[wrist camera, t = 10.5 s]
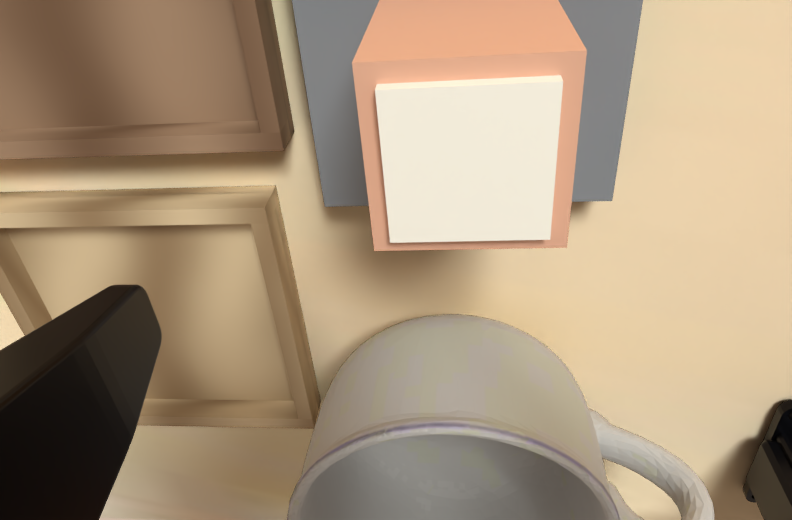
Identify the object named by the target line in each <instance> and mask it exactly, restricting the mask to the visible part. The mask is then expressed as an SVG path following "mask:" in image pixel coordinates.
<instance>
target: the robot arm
mask: <svg viewBox="0 0 792 520" xmlns="http://www.w3.org/2000/svg"><path fill="white" fill-rule="evenodd" d="M161 340H162V333H161V328H160V325H159V322H158V320H157V317H156V314H155V312H154V309H153V307H152V304H151V302H150V299H149V297H148V294H147V292H146V290H145V289H144V288H143V287H142V286H140V285H136V284H131V285H111V286H109V287H107V288H105V289H104V290H102V291H100V292H99V293H97V294H95V295H93V296H92V297H90V298H88V299H87V300H85V301H83V302H82V303H80V304H78V305H76V306H75V307H73V308H71V309H70V310H68V311H66V312H65V313H63V314H61V315H59V316H58V317H56V318H54V319H53V320H51V321H49V322H48V323H46V324H44V325H42V326H41V327H39V328H37V329H36V330H34V331H32V332H31V333H29V334H27V335H25V336H24V337H22V338H20V339H19V340H17V341H15V342H13V343H12V344H10V345H8V346H7V347H5V348H3V349H2V350H0V520H99V518H100V516H101V513H102V511H103V509H104V506H105V504H106V501H107V499H108V497H109V494H110V492H111V490H112V487H113V485H114V482H115V480H116V478H117V475H118V473H119V471H120V468H121V466H122V463H123V461H124V459H125V456H126V454H127V451H128V449H129V446H130V444H131V441H132V439H133V436H134V433H135V430H136V427H137V424H138V420H139V417H140V414H141V410H142V407H143V403H144V400H145V397H146V393H147V390H148V387H149V383H150V380H151V376H152V373H153V370H154V366H155V363H156V360H157V356H158V353H159V350H160V346H161ZM743 492H744V495H745V497H746V499H747V500H748V501H750V502H756V503H757V505H758V507H759V509H760V512H761V514H762V516H763V519H764V520H792V400H788V401H786V402H783V403H782V404H780V405H779V406H778V408H777V410H776V412H775V415H774V417H773V419H772V422H771V424H770V426H769V429H768V431H767V433H766V435H765V438H764V440H763V442H762V444H761V445H760V447H759V449H758V451H757V454H756V456H755V459H754V461H753V463H752V466H751V468H750V470H749V473H748V475H747V477H746V482H745V484H744V487H743Z"/></svg>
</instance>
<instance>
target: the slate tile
mask: <svg viewBox="0 0 792 520" xmlns="http://www.w3.org/2000/svg"><path fill="white" fill-rule="evenodd" d="M558 1H559V3H560V4H561V6H562V8H563V10H564V11H565V13H566V15H567V16H568V18H569V20H570V22H571V23H572V25H573V27H574V29H575V30H576V32H577V34H578V36H579V37H580V39H581V41H582V43H583V44H584V46H585V48H586V50H587V56H586V65H585V75H584V85H583V95H582V105H581V114H580V124H579V134H578V144H577V154H576V164H575V173H574V183H573V193H572V202H581V201H612V198H613V192H614V185H615V179H616V172H617V166H618V159H619V153H620V146H621V140H622V133H623V127H624V120H625V114H626V107H627V101H628V94H629V88H630V81H631V75H632V68H633V62H634V55H635V49H636V42H637V36H638V29H639V23H640V16H641V10H642V3H643V0H558ZM378 2H379V0H292V4H293V10H294V17H295V23H296V29H297V35H298V42H299V48H300V54H301V60H302V67H303V73H304V79H305V86H306V92H307V98H308V104H309V111H310V117H311V123H312V130H313V136H314V142H315V148H316V155H317V161H318V167H319V174H320V180H321V186H322V192H323V199H324V205H325V207H333V206H369V202H368V194H367V186H366V177H365V169H364V160H363V152H362V143H361V135H360V127H359V118H358V110H357V101H356V93H355V84H354V76H353V68H352V61H353V59H354V57H355V55H356V52H357V50H358V48H359V46H360V43H361V41H362V39H363V36H364V34H365V32H366V30H367V27H368V25H369V23H370V20H371V18H372V16H373V14H374V11H375V9H376V7H377V4H378Z"/></svg>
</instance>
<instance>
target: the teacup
mask: <svg viewBox="0 0 792 520" xmlns="http://www.w3.org/2000/svg"><path fill="white" fill-rule="evenodd" d="M602 458H604V459H607V460H609V461H612V462H615V463H617V464H620V465H622V466H624V467H626V468H628V469H630V470H632V471H634V472H636V473H638V474H640V475H641V476H643V477H645V478H646V479H648V480H650V481H651V482H653V483H654V484H655V485H657V486H658V487H659V488H661V489H662V490H663V491H664V492H665V493H667V494H668V495H669V496H670V497H671V498H672V500H673V501H674V502H675V504H676V505H677V507H678V509H679V511H680V513H681V517H682V518H681V520H714V507H713V502H712V500H711V498H710V495H709V493H708V491H707V489H706V487H705V485H704V483H703V482H702V481H701V479H700V478H699V477H698V476H697V475H696V473H695V472H694V471H693V470H692V469H691V468H690V467H689V466H688V465H687V464H686V463H684V462H683V461H682V460H681V459H680V458H678V457H677V456H675V455H673V454H672V453H670V452H669V451H667V450H666V449H664V448H663V447H661V446H659V445H657V444H655V443H653V442H651V441H649V440H647V439H645V438H643V437H641V436H638V435H636V434H633V433H631V432H629V431H626V430H624V429H621V428H619V427H616V426H614V425H612V424H610V423H609V422H608V421H607V420H606V419H605V418H604V417H603V416H602V415H600V414H599V413H597V412H596V411H593V410H591V409H588V406H587V404H586V401H585V398H584V396H583V393H582V391H581V389H580V388H579V386H578V384H577V382H576V380H575V378H574V377H573V375H572V373H571V372H570V371H569V369H568V368H567V367H566V365H565V364H564V363H563V362H562V361H561V359H560V358H559V357H558V356H557V355H556V354H555V353H554V352H552V351H551V350H550V349H549V348H548V347H547V346H545V345H544V344H543V343H541V342H540V341H538V340H537V339H536V338H534V337H532V336H530V335H529V334H527V333H525V332H524V331H522V330H519V329H517V328H515V327H513V326H510V325H507V324H505V323H502V322H499V321H496V320H492V319H488V318H483V317H478V316H472V315H461V314H443V315H433V316H425V317H420V318H416V319H411V320H408V321H405V322H402V323H399V324H396V325H394V326H391V327H389V328H387V329H385V330H383V331H381V332H380V333H378V334H376V335H374V336H373V337H371V338H370V339H368V340H367V341H366V342H364V343H363V344H362V345H360V346H359V347H358V348H357V349H356V350H355V351H354V352H353V353H352V354H351V355H350V356H349V357H348V359H347V360H346V361H345V362H344V364H343V365H342V366H341V367H340V369H339V371H338V372H337V374H336V375H335V377H334V379H333V381H332V383H331V385H330V387H329V389H328V391H327V393H326V396H325V398H324V401H323V403H322V406H321V409H320V412H319V415H318V418H317V422H316V425H315V428H314V431H313V435H312V438H311V441H310V445H309V448H308V452H307V455H306V459H305V463H304V467H303V471H302V475H301V478H300V480H299V481H298V483H297V484H296V487H295V489H294V492H293V494H292V496H291V499H290V503H289V510H288V517H287V520H644V519H642V518H641V517H639V516H638V515H637V514H635V513H634V512H633V511H632V510H631V509H630V508H629V507H628V506H627V504H626V503H625V502H624V500H623V498H622V497H621V495H620V493H619V492H618V490H617V488H616V487H615V486H614V485H613V484H612V483H611V482H609V481H608V480H607V477H606V472H605V468H604V464H603V459H602Z"/></svg>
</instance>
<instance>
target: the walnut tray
mask: <svg viewBox="0 0 792 520" xmlns="http://www.w3.org/2000/svg"><path fill="white" fill-rule="evenodd" d="M293 132H294V126H293V121H292V115H291V110H290V104H289V98H288V93H287V87H286V81H285V76H284V70H283V65H282V59H281V53H280V48H279V42H278V36H277V31H276V25H275V19H274V14H273V8H272V3H271V0H0V159H31V158H63V157H96V156H129V155H162V154H195V153H228V152H261V151H284V149H285V147H286V146H287V144H288V142H289V140H290V138H291V136H292V134H293Z"/></svg>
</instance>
